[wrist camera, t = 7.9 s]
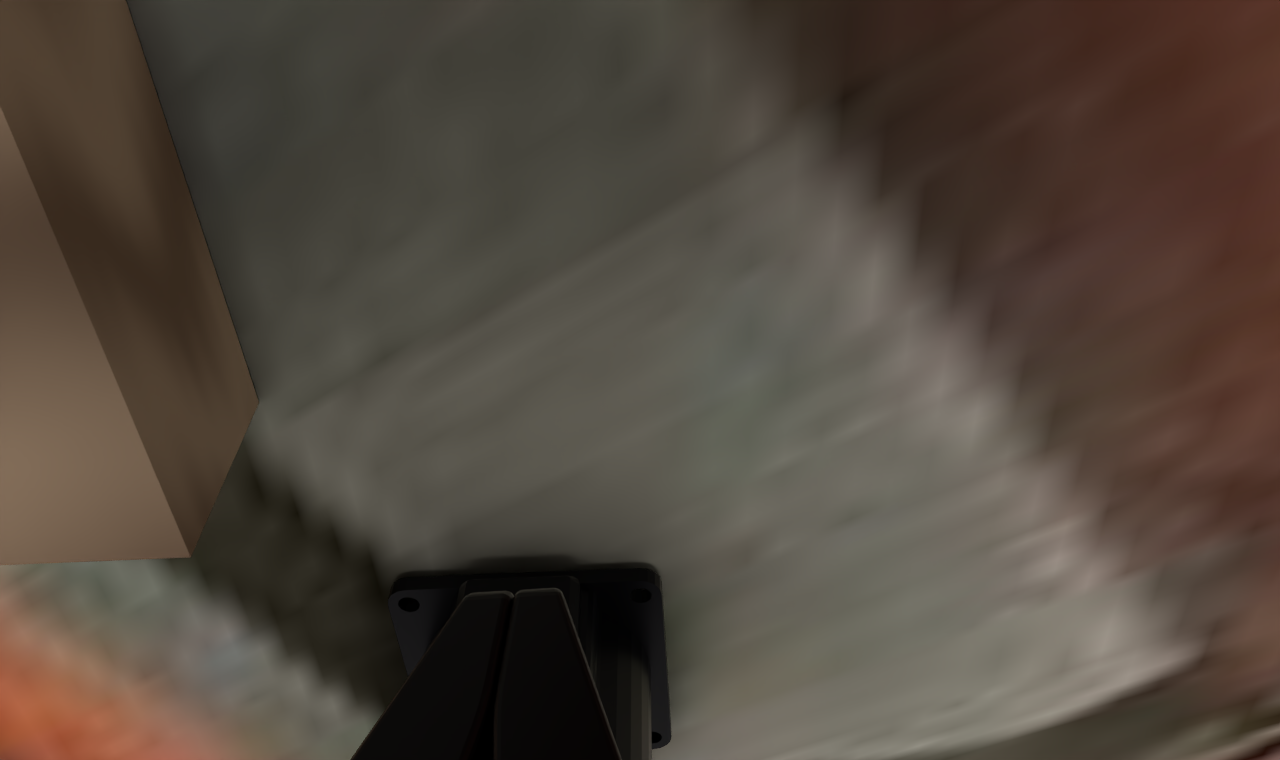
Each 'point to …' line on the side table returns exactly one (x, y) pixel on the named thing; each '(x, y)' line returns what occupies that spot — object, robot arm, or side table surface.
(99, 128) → the stepped beige slab
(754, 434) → the side table surface
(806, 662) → the side table surface
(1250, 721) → the side table surface
